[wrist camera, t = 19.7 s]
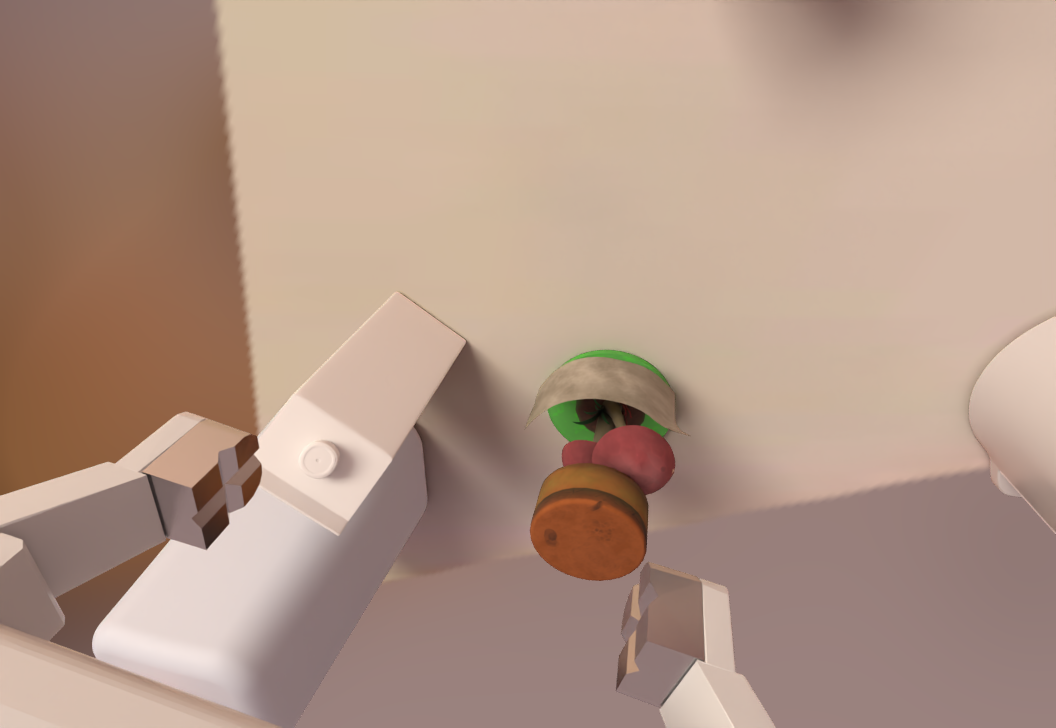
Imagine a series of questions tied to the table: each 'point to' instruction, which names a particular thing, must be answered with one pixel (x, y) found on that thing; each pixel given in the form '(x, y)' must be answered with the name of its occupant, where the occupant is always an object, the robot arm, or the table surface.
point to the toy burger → (603, 463)
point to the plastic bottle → (264, 598)
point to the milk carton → (356, 413)
